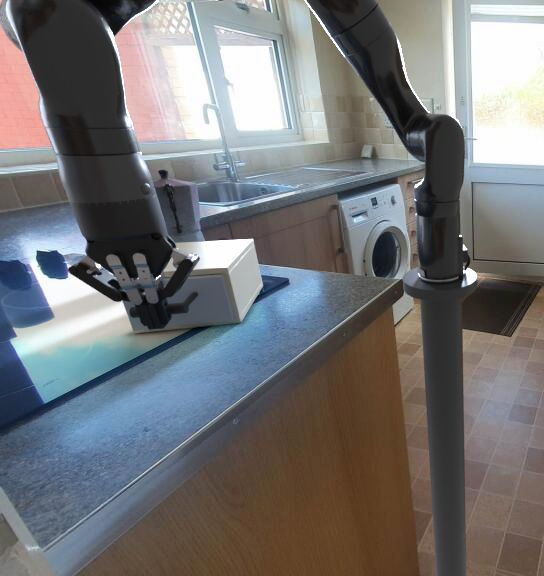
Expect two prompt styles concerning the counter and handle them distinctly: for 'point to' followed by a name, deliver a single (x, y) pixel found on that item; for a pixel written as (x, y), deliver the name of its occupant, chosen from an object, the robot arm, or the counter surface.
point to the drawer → (193, 303)
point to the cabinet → (225, 272)
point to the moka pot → (179, 208)
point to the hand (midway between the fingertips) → (159, 326)
